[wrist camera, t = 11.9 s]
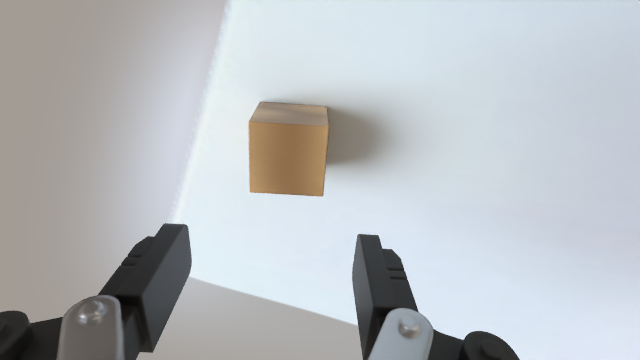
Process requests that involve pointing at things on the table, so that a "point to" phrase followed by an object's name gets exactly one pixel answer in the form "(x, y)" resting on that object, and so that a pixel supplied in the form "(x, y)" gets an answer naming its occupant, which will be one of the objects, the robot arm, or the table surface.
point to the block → (288, 149)
